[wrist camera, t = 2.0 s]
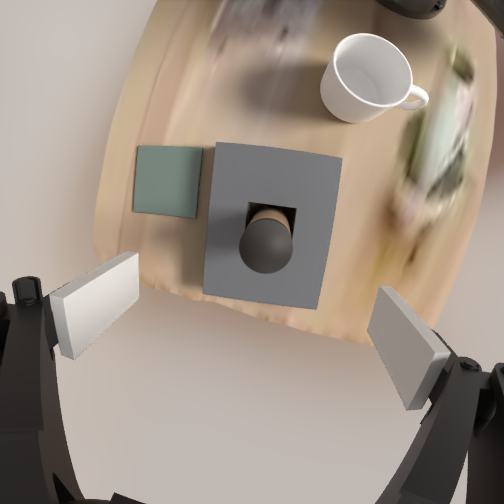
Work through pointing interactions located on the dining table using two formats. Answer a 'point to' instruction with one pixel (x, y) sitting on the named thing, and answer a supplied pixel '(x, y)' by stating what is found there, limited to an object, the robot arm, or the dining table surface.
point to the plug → (267, 241)
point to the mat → (167, 180)
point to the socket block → (274, 193)
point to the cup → (368, 79)
